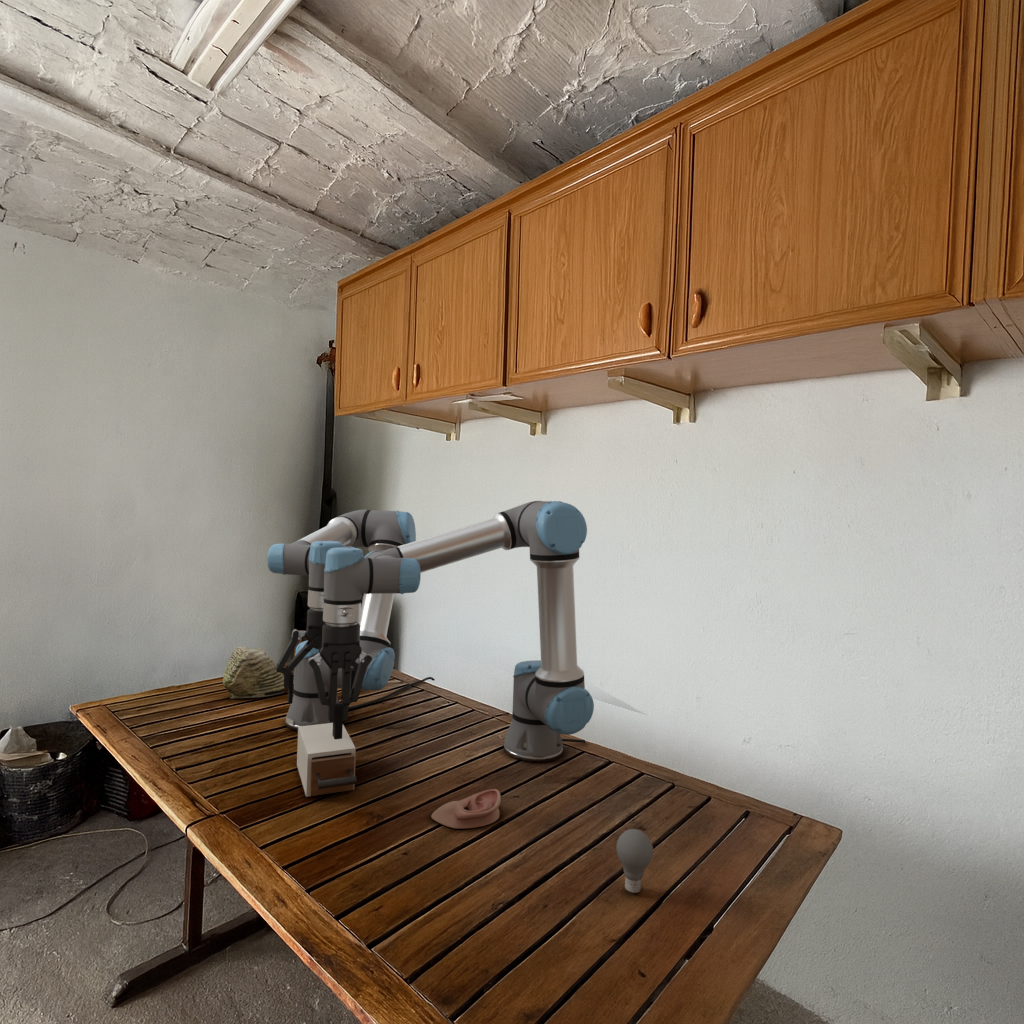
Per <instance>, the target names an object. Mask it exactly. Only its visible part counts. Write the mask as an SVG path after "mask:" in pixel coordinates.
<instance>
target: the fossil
mask: <svg viewBox="0 0 1024 1024" xmlns="http://www.w3.org/2000/svg"><path fill="white" fill-rule="evenodd" d="M276 665H277V664H276V663H275V662H274V660H273V659H272V658H271V657H270V656H269V655H268V654H267V653H266V652H265V650H264V649H263V648H260V647H258V648H251V647H247V646H246V647H245V646H238V647H237V648H236V649H235V650H233V651H232V653H231V656H230V657H229V659H228V660H227V663H226V666H225V668H224V671H223V675H222V676H223V677H222V685H223V687H224V688H225V690H226V691H228V693H229V698H230V699H250V698H264V697H271V696H275V695H281V694H284V693H285V691H286V689H287V688H286V689H285V688H284V685H283V683H284V674H283V673H278V672H277V671H276Z"/></svg>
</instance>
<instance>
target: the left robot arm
mask: <svg viewBox="0 0 1024 1024" xmlns="http://www.w3.org/2000/svg"><path fill="white" fill-rule="evenodd" d="M415 541H417V532H416V524H415V519H414V517H413V515H412V514H411V513H410V512H408V511H401V510H381V509H380V510H379V509H378V510H377V509H358V510H353V511H349V512H346V513H343V514H341V515H338V516H336V517H334V518H332V519H330V520H329V521H328V523H327V525H326V526H324V527H322V528H320V529H317V530H316V531H314V532H312V533H309V534H308V535H306V536H303V537H302V538H300V539H297V540H296V541H294V542H292V543H284V542H283V543H273V545H271V546H270V547H269V549H268V551H267V554H266V555H267V556H266V565H267V568H268V570H269V571H270V572H271V573H272V574H280V575H284V576H285V575H289V576H308V590H307V607H308V609H307V612H306V628H305V630H298V629H297V628H293V629H292V631H291V637H290V640H289V642H288V643H287V645H286V647H285V649H284V651H283V652H282V654H281V656H280V658H279V660H278V661H277V663H276V664H275V665H276V671H277V672H278V673H282V675H283V676H284V683H283V685H284V688H285V689H287V702H288V705H289V708H288V711H287V713H286V715H285V726H286V728H287V729H289V730H291V731H294V732H295V731H296V732H298V727H299V726H308V725H317V724H327V723H330V722H329V719H328V706H327V705H322V704H321V702H320V700H319V695H318V691H317V686H316V682H315V677H314V672H313V669H312V667H311V666H310V664H309V662H308V658H309V657H314V656H315V655H316V654H318V653H319V649H320V648H321V645H322V628H323V625H324V624H325V622H324V621H323V606H324V569H325V562H326V553H327V551H328V550H329V549H331V548H338V547H347V548H367V550H368V553H370V552H373V551H377V550H378V551H384V550H387V549H391V548H395V547H398V546H401V545H405V544H408V543H411V542H415ZM394 598H395V593H379V594H363V596H362V600H361V620H360V621H359V622H357V623H359V625H360V646H361V648H362V651H363V652H365V653H368V654H369V655H370V656H371V657H372V660H371V662H370V663H369V665H368V666H367V669H366V672H365V676H364V679H363V683H362V687H361V690H362V691H366V692H368V691H380V690H382V689H384V688H385V687H386V686H387V684H388V683H389V681H390V680H391V677H392V674H393V671H394V666H395V658H396V654H395V651H394V648H392V647H391V641H390V640H389V639H388V637H387V636H388V629H389V625H390V621H391V620H390V619H391V613H392V608H393V602H394ZM303 637H305V639H306V640H304V641H302V642H299V643H298V641H300V640H302V638H303ZM294 650H295V652H294V653H295V654H294V656H293V658H292V659H290V661H289V662H288V660H289V658H290V656H291V655H292V653H293V651H294ZM287 662H288V664H287ZM359 662H360V661H359V657H358V658H357V659H356V661H355V662H354V663H353V665H352V666H351V673H350V691H349V695H350V693H351V690H352V686H353V683H354V679H355V676H356V672H357V668H358V665H359ZM286 664H287V665H286ZM285 665H286V666H285ZM319 668H320V671H321V675H322V680H323V684H324V689H325V694H326V697H327V698H328V694H329V667H328V665H327V664H326V663H325V661H324V660H323V659H322V658H321V665H320V666H319ZM293 671H294V672H293ZM428 680H431V681H436V679H435V678H434V677H432V676H428V677H425V678H422V679H421V680H417V681H414V682H412V683H409V684H407V685H405V686H403V687H401V688H399V689H397V690H394V691H392V692H390V693H388V694H386V695H383V696H381V697H379V698H376V699H372V700H369V701H366V702H363V703H359V704H356V705H349V707H348V710H353V709H354V710H355V709H357V708H361V707H365V706H367V705H371V704H374V703H377V702H379V701H383V700H385V699H387V698H390V697H392V696H394V695H396V694H397V693H399V692H402V691H404V690H406V689H407V688H410V687H412V686H415V685H419V684H421V683H423V682H426V681H428ZM341 686H342V668H339V669H338V674H337V689H341ZM361 690H360V691H361ZM337 703H341V701H340V699H339V695H338V694H337V696H336V704H337ZM331 723H333V722H331Z"/></svg>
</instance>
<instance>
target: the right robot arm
mask: <svg viewBox="0 0 1024 1024" xmlns="http://www.w3.org/2000/svg"><path fill="white" fill-rule="evenodd" d="M587 536H588V525H587V521H586V519H585V517H584V515H583V514H582V512H581V511H580V510H579V509H578V508H577V507H576V506H574V505H573V504H571V503H568V502H563V501H560V500H550V501H549V500H547V501H545V500H532V501H528V502H525V503H523V504H519V505H517V506H514V507H512V508H509V509H506V510H503V511H501V512H497V513H494V515H493V518H491V519H487V520H483V521H481V522H477V523H474V524H470V525H467V526H463V527H460V528H456V529H453V530H449V531H446V532H443V533H438V534H435V535H433V536H429V537H425V538H422V539H419V540H416V541H415V542H411V543H408V544H405V545H401V546H398V547H395V548H391V549H387V550H384V551H378V550H377V551H373V552H368V553H367V554H365V555H364V551H363V549H362V548H360V547H354V548H347V547H338V548H331V549H329V550H328V551H327V553H326V562H325V569H324V606H323V621H324V622H325V624H324V625H323V628H322V645H321V648H320V649H319V653H318V654H316V655H315V656H314V657H309V658H308V662H309V664H310V666H311V667H312V669H313V672H314V677H315V682H316V686H317V691H318V695H319V700H320V702H321V704H322V705H327V706H328V719H329V722H330V723H331V722H333V734H332V735H333V737H334V739H342V728H343V725H344V722H347V721H348V719H349V709H348V707H350V706H351V705H350V704H352V703H357V702H358V700H359V696H360V693H361V687H362V683H363V679H364V676H365V672H366V669H367V666H368V665H369V663H370V662H371V660H372V657H371V656H370V655H369V654H368V653H365V652H363V651H362V648H361V646H360V625H359V623H358V622H359V621H360V620H361V606H362V597H363V596H362V595H364V594H379V593H394V594H400V595H404V594H412V593H416V592H417V591H418V589H419V588H420V584H421V575H422V574H421V573H425V572H427V571H431V570H435V569H437V568H441V567H444V566H447V565H450V564H454V563H458V562H460V561H463V560H467V559H470V558H473V557H476V556H480V555H483V554H486V553H489V552H493V551H497V550H500V549H503V550H505V551H510V550H513V549H519V548H529V561H530V562H531V563H533V565H535V566H536V567H535V568H536V577H537V579H536V580H537V581H536V582H537V603H538V623H539V625H538V626H539V648H540V649H539V650H540V660H537V659H536V660H535V659H534V660H524V661H520V662H518V663H516V664H515V666H514V670H513V675H512V678H513V684H512V685H513V687H512V713H511V721H510V724H509V727H508V730H507V732H506V735H505V738H504V742H503V751H504V753H505V754H506V755H507V756H509V757H511V758H512V759H514V760H515V759H516V760H518V761H524V762H528V763H547V762H551V761H554V760H555V761H556V760H558V759H559V758H561V756H562V755H563V753H564V745H563V743H564V742H565V743H581V744H582V743H583V744H584V743H586V739H579V738H578V739H577V738H562V735H564V736H570V735H574V734H577V733H579V732H580V731H582V730H583V729H584V728H585V727H586V726H587V724H589V722H590V721H591V719H592V717H593V714H594V710H595V704H594V699H593V697H592V695H591V694H590V692H589V691H588V690H587V689H586V686H585V672H584V670H583V669H582V668H581V667H580V666H579V664H578V649H577V648H578V647H577V625H576V602H575V601H576V600H575V579H574V573H575V572H574V565H575V564H576V563H577V562H578V560H580V549H581V548H582V546H583V543H585V541H586V539H587ZM358 657H359V661H360V662H359V665H358V668H357V672H356V676H355V679H354V683H353V686H352V690H351V693H350V695H349V691H350V673H351V666H352V665H353V663H354V662H355V661H356V659H357V658H358ZM321 658H322V659H323V660H324V661H325V663H326V664H327V665H328V667H329V694H328V698H327V697H326V694H325V689H324V684H323V680H322V675H321V671H320V668H319V666H320V665H321ZM339 668H342V686H341V688H340V690H341V691H340V692H341V693H340V703H337V704H336V696H337V695H338V688H337V674H338V669H339Z"/></svg>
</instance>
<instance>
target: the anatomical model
mask: <svg viewBox="0 0 1024 1024" xmlns="http://www.w3.org/2000/svg"><path fill="white" fill-rule="evenodd" d="M501 802H502V796H501V792H500V791H499V790H498V789H496V788H491V789H486V790H483V791H480V792H477V793H474V794H472V795H469V796H468V797H465V798H463V799H460V800H452V801H449V802H447V803H445V804H443V805H441V806H439V807H438V808H437V809H435V810H434V811H433V812H432V814H431V815H430V817H431V819H432V820H433V821H435V822H436V823H439V824H440V825H442V826H445V827H448V828H450V829H458V830H459V829H464V830H465V829H474V828H479V827H480V828H481V827H484V826H488V825H491V824H492V823H495V822H496V821H497V820H498V819H499V818H500V814H501V813H500V809H499V807H500V805H501Z"/></svg>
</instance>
